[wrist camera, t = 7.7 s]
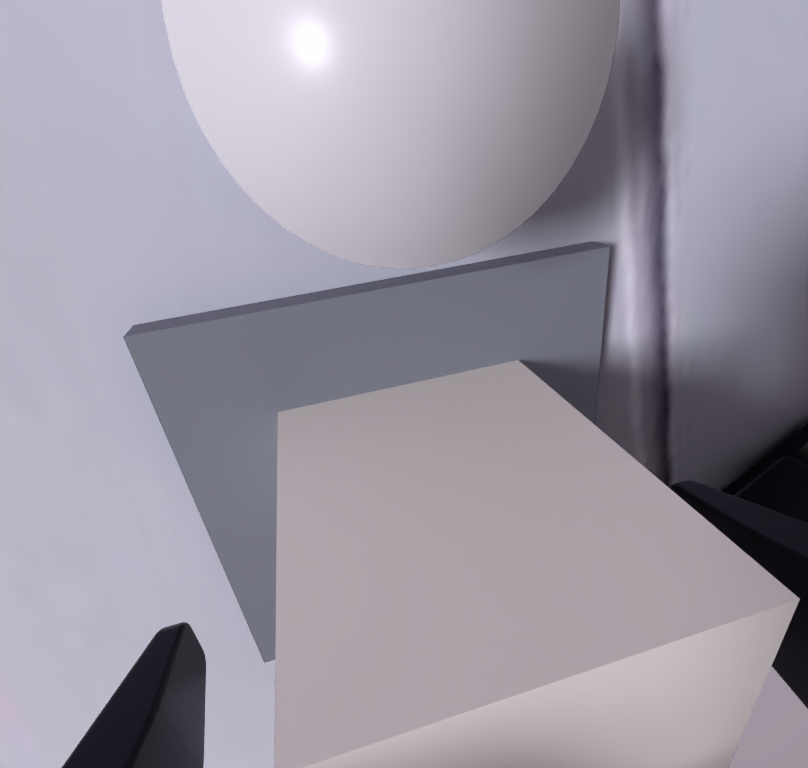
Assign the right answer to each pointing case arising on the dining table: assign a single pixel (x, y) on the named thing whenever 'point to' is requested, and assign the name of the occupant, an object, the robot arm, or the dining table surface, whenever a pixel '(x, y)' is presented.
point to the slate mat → (350, 376)
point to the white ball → (395, 113)
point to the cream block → (502, 590)
